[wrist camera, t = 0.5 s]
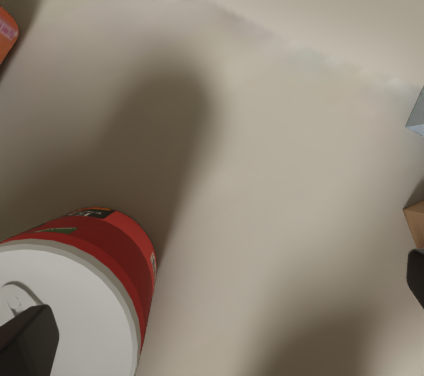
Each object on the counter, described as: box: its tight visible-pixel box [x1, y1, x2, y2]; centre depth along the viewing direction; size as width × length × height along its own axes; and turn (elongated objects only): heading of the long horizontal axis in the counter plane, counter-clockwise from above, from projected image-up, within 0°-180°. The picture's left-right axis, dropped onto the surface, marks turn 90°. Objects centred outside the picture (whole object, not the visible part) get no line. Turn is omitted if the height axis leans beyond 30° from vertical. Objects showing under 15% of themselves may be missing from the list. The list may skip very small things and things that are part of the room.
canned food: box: [0, 207, 157, 376], centre depth 17 cm, size 8×8×11 cm
